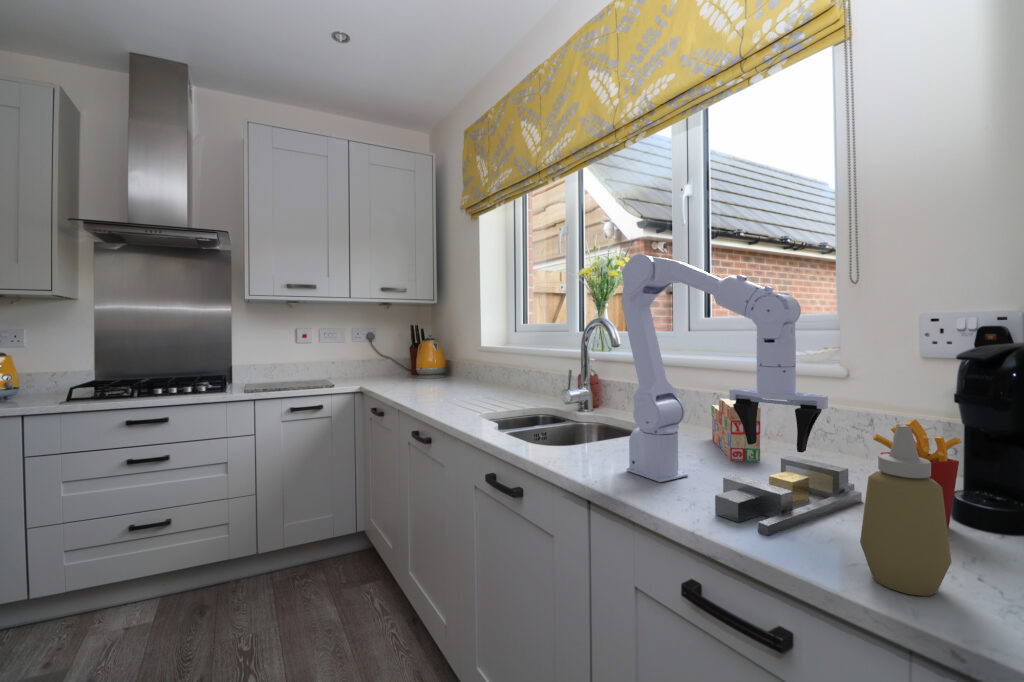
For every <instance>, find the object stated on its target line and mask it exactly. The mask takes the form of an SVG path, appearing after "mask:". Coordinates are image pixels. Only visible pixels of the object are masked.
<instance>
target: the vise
mask: <svg viewBox="0 0 1024 682" xmlns="http://www.w3.org/2000/svg"><path fill="white" fill-rule="evenodd" d="M782 472H790V473H794V474H798V475H802V476H806V477H809V494H812V495H815V496H818V497H819V496H820V497H823V498H824V499H821V500H818V501H815V502H812V503H810V504H806V505H804V506H801V507H798V508H795V509H793V510H792V511H789V512H786V513H783V514H780V515H777V516H774V517H768V518H764V519H762V520H760V521H758V522H757V533H758V534H762V535H764V536H766V537H769V536H772V535H775V534H777V533H781V532H784V531H786V530H788V529H791V528H793V527H797V526H799V525H802V524H804V523H807V522H810V521H812V520H814V519H815V520H816V519H817V518H820V517H824V516H826V515H828V514H831V513H834V512H836V511H838V510H841V509H845V508H847V507H849V506H852V505H856V504H857V503H860V502H862V494H863V493H862V491H857V490H855V483H851V482H849V468H847V467H841V466H838V465H832V464H829V463H823V462H820V461H816V460H815V461H814V460H810V459H805V458H802V457H796V456H793V455H789V456H785V457H780V473H782Z"/></svg>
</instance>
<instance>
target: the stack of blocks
mask: <svg viewBox="0 0 1024 682" xmlns="http://www.w3.org/2000/svg"><path fill="white" fill-rule="evenodd" d="M735 402H736V401H734V400H729V398H719V399H718V404H711V413H710V414H711V429H712V430H711V435H712V437H711V438H712V440H713V441H714V443H715V442H716V443H717V444H716V443H715V444H716V445H717V446H719V447H718V448H719V449H720V448H721V449H722V450H723V451H724V452H723V451H722V450H721V449H720V450H721V451H722V452H723V453H724V455H725V454H726V455H727V456H726V455H725V456H726V457H727V458H728V460H729V459H730V460H736V461H735V462H738V461H739V462H756V461H760V462H761V415H762V414H761V408H762V407H760V406H759V405H758V411H757V420H756V430H757V439H756V443H754V444H752V445H750V444H748V443H747V438H746V434H745V431H744V428H743V425H742V423H741V420H740V418H739V416H738V414H737V413H736V411H735V409H734V407H733V404H735ZM730 460H729V461H730ZM737 460H738V461H737ZM741 460H742V461H741Z"/></svg>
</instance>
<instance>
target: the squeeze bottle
mask: <svg viewBox="0 0 1024 682" xmlns="http://www.w3.org/2000/svg"><path fill="white" fill-rule="evenodd" d="M893 437H894V440H893V441H892V442H893V443H892V447H891V449H890V450H889V452H890V454H881V453H880V454H879V455H878V456H877V458H878V459H877V462H878V463H877V464H878V465H877V468H878V470H879V471H875V472H873V473H871V474H870V475H869V476H867V486H866V494H865V500H864V508H863V517H862V524H861V530H860V531H861V532H860V540H859V543H860V546H861V549H862V552H863V554H864V557H865V560H866V563H867V566H868V569H869V571H870V573H871V576H872V578H873V579H874V581H876V582H878V583H879V584H881V585H883V586H884V587H886V588H889V589H891V590H894V591H897V592H899V593H900V592H901V593H903V594H909V595H914V596H924V597H925V596H926V597H928V596H933V595H936V594H937V592H938V591H939V589H940V587H941V585H942V583H943V581H944V579H945V577H946V574H948V570H949V568H950V566H951V564H952V557H951V555H952V554H951V548H950V540H949V532H948V528H947V522H946V514H945V507H944V499H943V491H942V487H941V486H940V485H939V484H938V483H937V482H936V481H934V480H933V479H930V478H928V477H930V476H931V462H930V461H929V460H927V459H924V458H920V457H919V456H918V452H917V449H916V445H915V441H916V440H915V438H914V437H915V436H914V434H913V433H912V430H911V427H909V426H906V425H903V426H897V429H896V433H895V436H894V435H893ZM914 440H915V441H914Z"/></svg>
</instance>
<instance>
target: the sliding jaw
mask: <svg viewBox="0 0 1024 682" xmlns="http://www.w3.org/2000/svg"><path fill="white" fill-rule="evenodd" d="M722 479H723V482H722V485H723V486H722V491H723V492H721V493H719V494H715V495H714V501H715V502H714V509H715V510H714V514H715V515H716V516H719V517H722V518H725V519H727V520H730V521H733V522H736V523H738V524H739V523H741V522H745V521H747V520H751V519H754V518H757V517H759V516H762V515H763V516H766V517H768V518H771V517H774V516H777V515H780V514H783V513H786V512H789V511H792V510H794V509H793V508H794V505H793V491H790V490H787V489H783V488H779V487H776V486H772V485H769V483H765V482H762V481H758V480H754V479H751V478H746V477H744V476H739V475H736V474H732V475H728V476H724V477H723V478H722Z"/></svg>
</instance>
